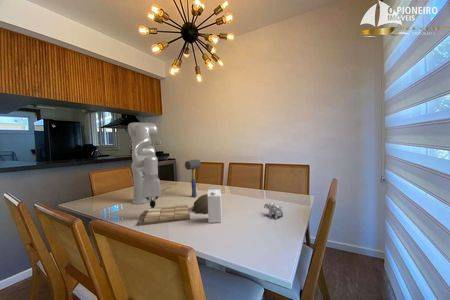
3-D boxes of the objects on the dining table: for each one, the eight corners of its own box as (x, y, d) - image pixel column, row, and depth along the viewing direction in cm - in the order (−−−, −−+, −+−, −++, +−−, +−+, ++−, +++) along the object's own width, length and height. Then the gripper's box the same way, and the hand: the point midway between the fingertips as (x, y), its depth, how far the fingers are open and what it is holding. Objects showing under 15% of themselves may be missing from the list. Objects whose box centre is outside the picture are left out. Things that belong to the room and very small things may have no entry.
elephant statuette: (280, 221, 116) (281, 207, 115) (259, 216, 121) (260, 203, 121) (284, 215, 124) (284, 203, 123) (264, 211, 129) (265, 199, 129)
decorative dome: (202, 203, 151) (201, 189, 150) (226, 206, 142) (226, 192, 142) (186, 212, 134) (185, 196, 133) (213, 216, 125) (212, 200, 124)
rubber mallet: (191, 199, 160) (190, 160, 158) (185, 198, 164) (183, 160, 163) (202, 195, 170) (201, 159, 168) (196, 194, 174) (195, 158, 173)
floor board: (144, 213, 133) (143, 208, 133) (188, 208, 140) (188, 204, 139) (138, 225, 114) (138, 220, 114) (190, 219, 120) (189, 214, 120)
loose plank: (149, 210, 133) (149, 208, 133) (161, 209, 135) (161, 207, 135) (146, 217, 121) (146, 215, 121) (159, 216, 123) (159, 213, 122)
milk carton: (209, 218, 122) (208, 186, 121) (221, 217, 122) (220, 185, 121) (208, 223, 115) (207, 189, 114) (221, 222, 115) (220, 188, 113)
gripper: (136, 179, 118) (138, 210, 119) (164, 177, 121) (165, 208, 123) (139, 176, 125) (140, 206, 127) (165, 175, 128) (166, 204, 130)
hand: (152, 207), depth 125 cm, fingers closed
